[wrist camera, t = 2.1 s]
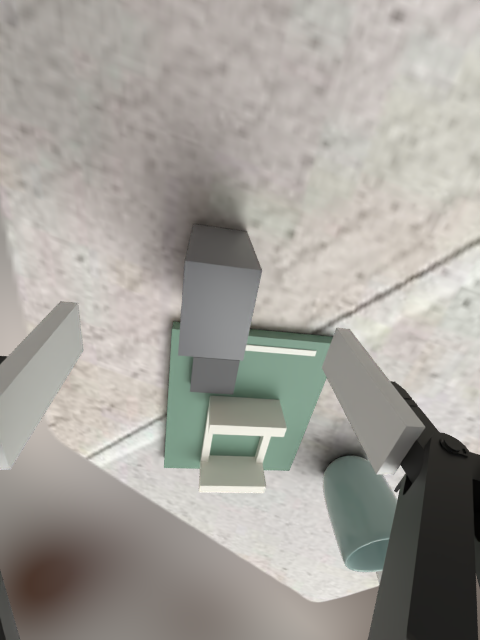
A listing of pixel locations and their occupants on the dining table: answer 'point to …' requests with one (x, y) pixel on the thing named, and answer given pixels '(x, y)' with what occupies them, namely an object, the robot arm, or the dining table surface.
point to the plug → (218, 293)
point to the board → (243, 408)
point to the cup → (359, 512)
